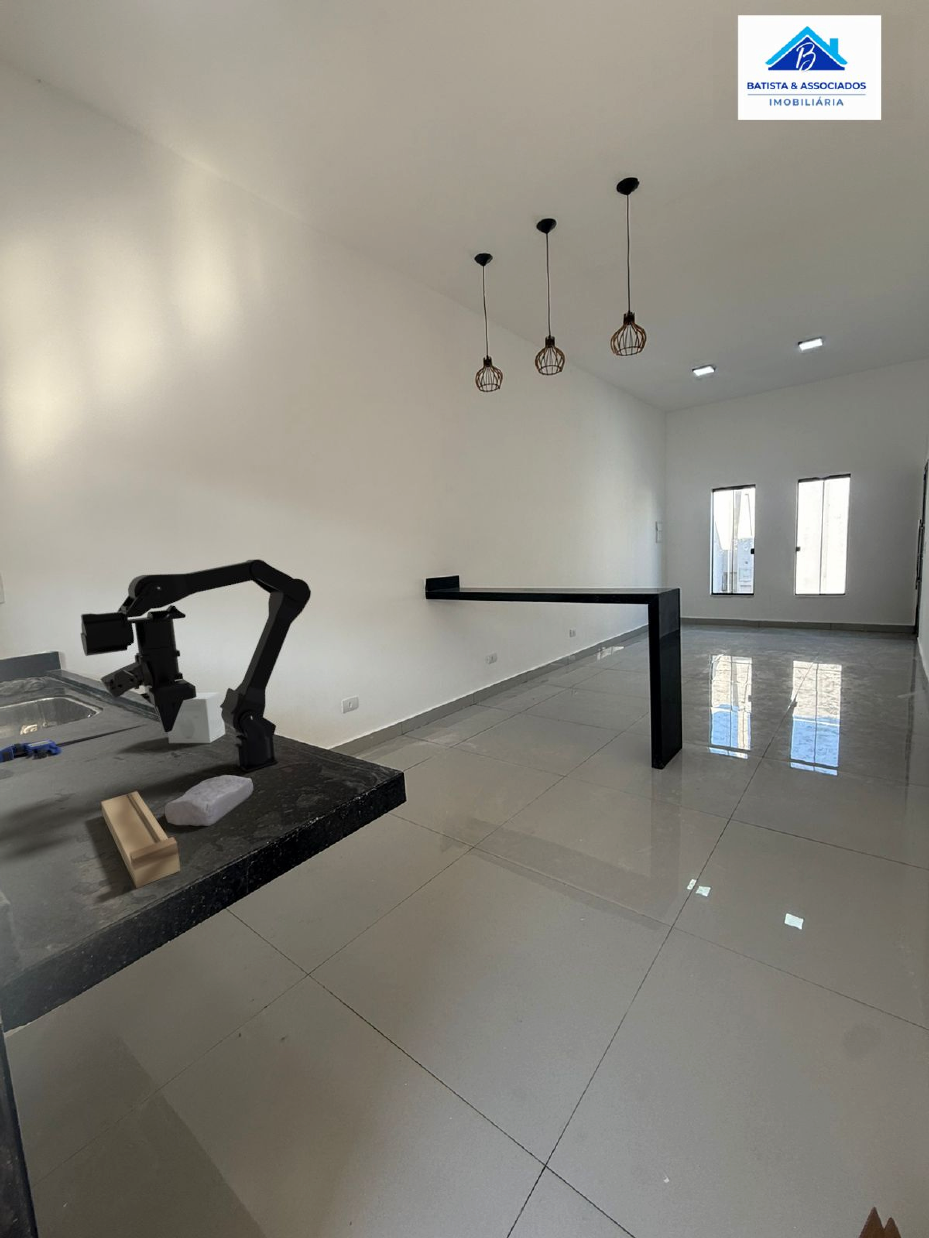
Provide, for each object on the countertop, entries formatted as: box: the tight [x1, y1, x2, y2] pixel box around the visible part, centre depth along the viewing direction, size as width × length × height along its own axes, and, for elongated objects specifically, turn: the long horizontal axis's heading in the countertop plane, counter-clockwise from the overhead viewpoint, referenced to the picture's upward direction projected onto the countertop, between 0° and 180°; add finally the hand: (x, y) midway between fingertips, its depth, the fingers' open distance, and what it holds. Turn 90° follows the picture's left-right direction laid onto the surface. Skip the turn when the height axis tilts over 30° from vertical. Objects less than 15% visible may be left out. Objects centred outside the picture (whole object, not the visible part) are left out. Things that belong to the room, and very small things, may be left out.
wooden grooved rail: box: [100, 791, 181, 889], centre depth 75 cm, size 5×26×4 cm, turn 43°
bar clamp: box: [0, 723, 149, 763], centre depth 120 cm, size 32×2×10 cm
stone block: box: [164, 774, 254, 827], centre depth 84 cm, size 12×5×10 cm
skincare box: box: [167, 692, 226, 744], centre depth 117 cm, size 10×6×10 cm, turn 83°
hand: (168, 731), depth 90 cm, fingers closed
